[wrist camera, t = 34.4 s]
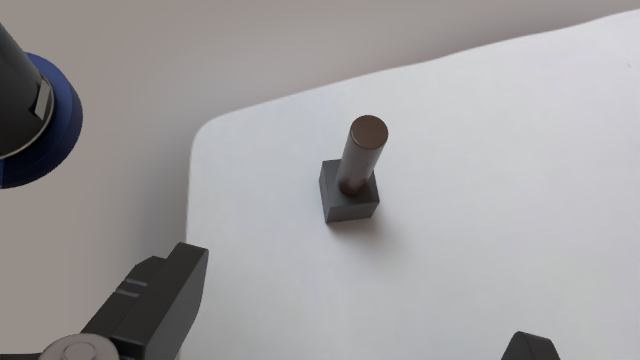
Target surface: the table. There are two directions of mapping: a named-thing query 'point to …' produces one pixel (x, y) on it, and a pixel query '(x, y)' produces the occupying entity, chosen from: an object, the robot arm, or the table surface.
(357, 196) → the cylinder on square base
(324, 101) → the table surface
